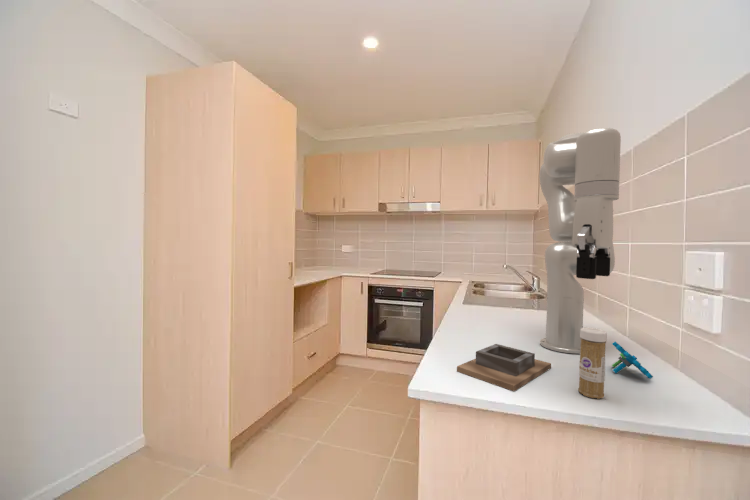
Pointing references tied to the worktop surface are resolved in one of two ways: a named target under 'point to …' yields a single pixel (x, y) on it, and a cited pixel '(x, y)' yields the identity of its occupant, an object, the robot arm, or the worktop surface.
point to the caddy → (504, 366)
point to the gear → (628, 361)
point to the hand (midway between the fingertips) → (593, 277)
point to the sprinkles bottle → (592, 362)
